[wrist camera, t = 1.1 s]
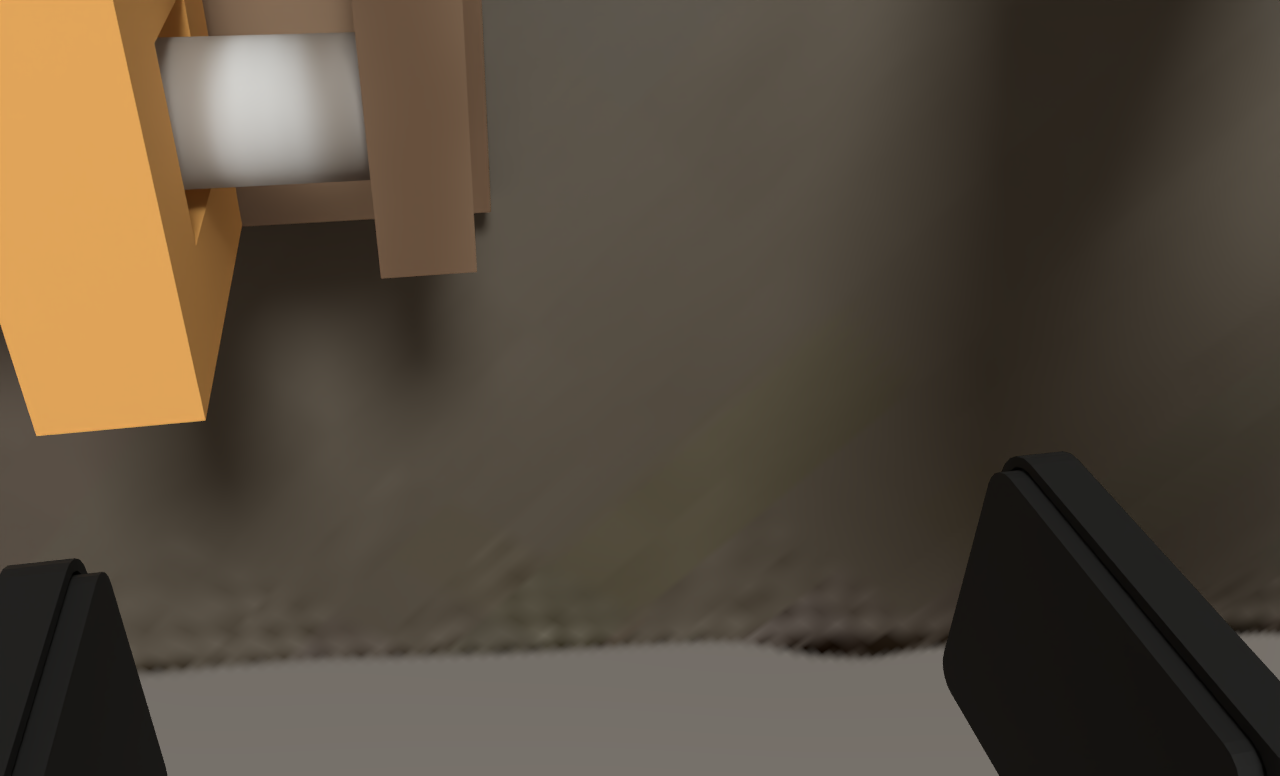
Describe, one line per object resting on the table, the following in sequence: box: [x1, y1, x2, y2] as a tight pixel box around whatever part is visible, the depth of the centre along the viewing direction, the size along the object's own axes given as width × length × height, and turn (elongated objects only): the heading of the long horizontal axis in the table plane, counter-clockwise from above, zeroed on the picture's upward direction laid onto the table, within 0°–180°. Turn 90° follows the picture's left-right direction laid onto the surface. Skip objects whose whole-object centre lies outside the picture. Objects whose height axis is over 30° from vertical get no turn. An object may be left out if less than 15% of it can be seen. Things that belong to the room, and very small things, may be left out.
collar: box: [0, 0, 242, 436], centre depth 22 cm, size 3×9×9 cm, turn 178°
